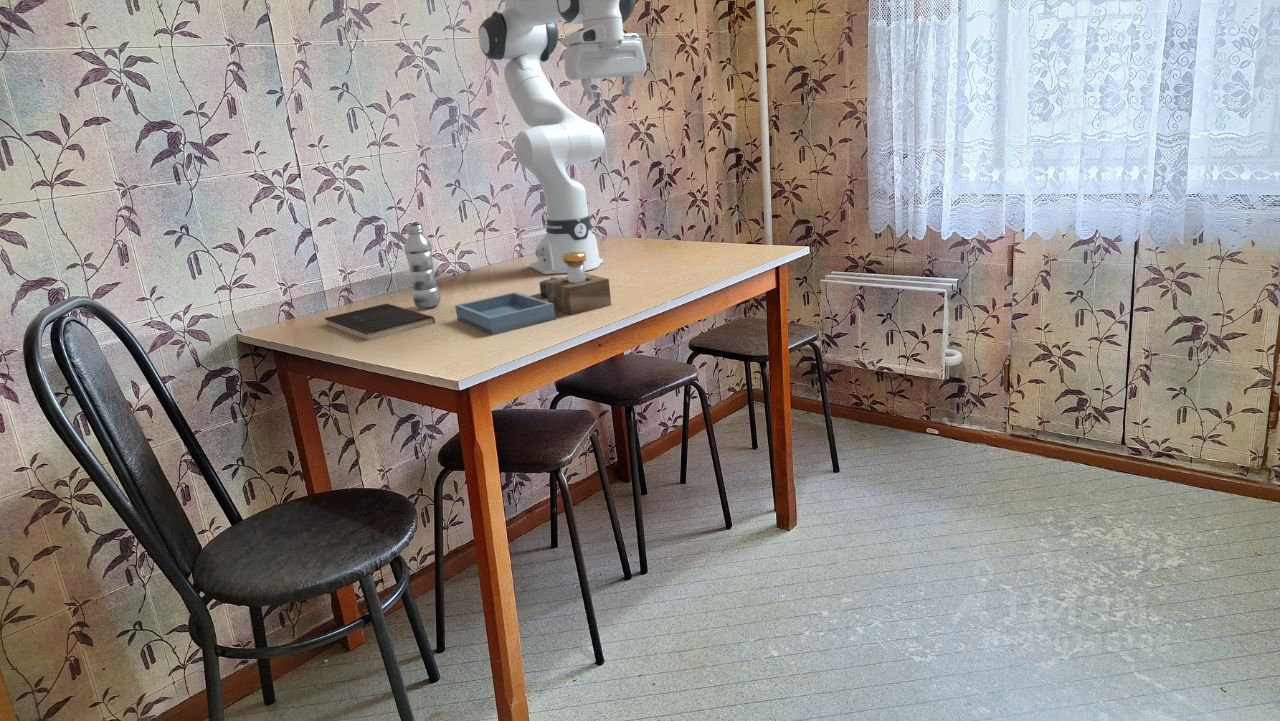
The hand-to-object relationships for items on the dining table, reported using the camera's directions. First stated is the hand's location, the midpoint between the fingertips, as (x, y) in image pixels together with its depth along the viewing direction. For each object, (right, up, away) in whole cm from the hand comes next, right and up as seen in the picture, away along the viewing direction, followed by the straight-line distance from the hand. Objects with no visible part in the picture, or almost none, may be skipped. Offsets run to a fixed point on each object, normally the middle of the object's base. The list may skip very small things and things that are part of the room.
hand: (609, 98), depth 190 cm
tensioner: (-9, -47, +2) cm, 48 cm away
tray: (-23, -51, -8) cm, 56 cm away
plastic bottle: (-44, -47, +11) cm, 66 cm away
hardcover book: (-52, -52, -1) cm, 74 cm away
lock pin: (-7, -48, -2) cm, 48 cm away
